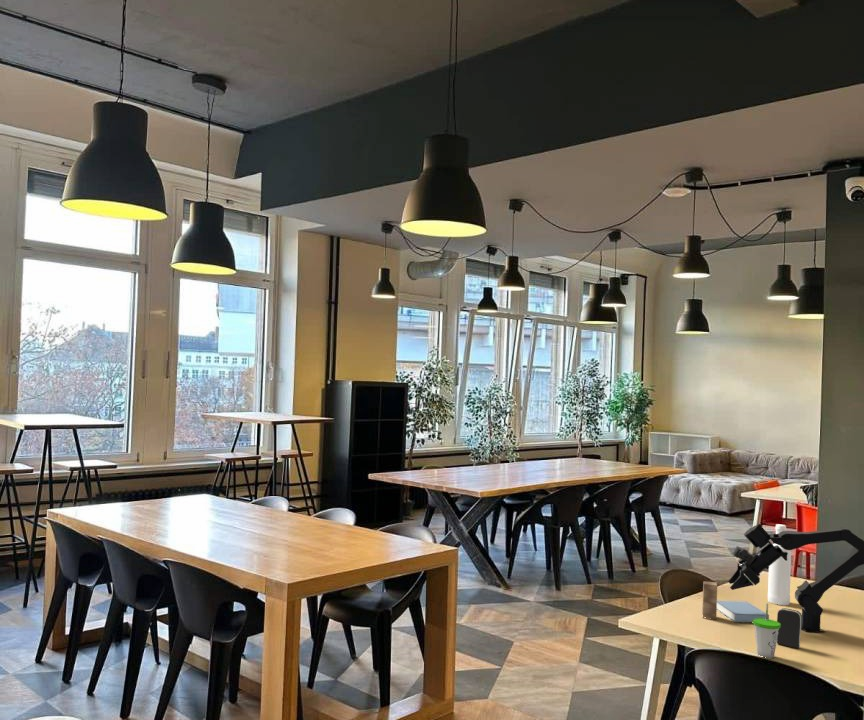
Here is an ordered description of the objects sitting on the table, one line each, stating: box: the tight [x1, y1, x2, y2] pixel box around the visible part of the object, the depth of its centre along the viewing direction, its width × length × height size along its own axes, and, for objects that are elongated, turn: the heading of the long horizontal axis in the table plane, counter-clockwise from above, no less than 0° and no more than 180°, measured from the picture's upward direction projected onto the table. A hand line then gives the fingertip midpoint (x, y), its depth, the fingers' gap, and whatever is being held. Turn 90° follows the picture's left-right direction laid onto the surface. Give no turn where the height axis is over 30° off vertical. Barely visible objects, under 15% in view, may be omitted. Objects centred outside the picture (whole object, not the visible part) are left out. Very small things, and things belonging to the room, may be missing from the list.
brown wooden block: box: [701, 580, 718, 620], centre depth 276 cm, size 4×4×12 cm
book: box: [717, 600, 770, 623], centre depth 279 cm, size 17×12×3 cm
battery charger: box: [776, 607, 802, 649], centre depth 248 cm, size 7×4×11 cm, turn 52°
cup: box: [752, 603, 781, 660], centre depth 236 cm, size 8×8×15 cm
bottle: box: [767, 523, 792, 606], centre depth 301 cm, size 8×8×30 cm
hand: (730, 585), depth 274 cm, fingers open, 9 cm apart
